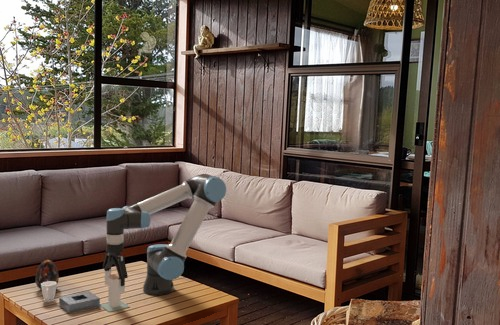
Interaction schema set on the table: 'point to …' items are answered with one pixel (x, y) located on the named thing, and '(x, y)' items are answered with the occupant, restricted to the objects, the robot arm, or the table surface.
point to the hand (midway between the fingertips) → (114, 288)
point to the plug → (114, 291)
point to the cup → (48, 290)
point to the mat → (114, 307)
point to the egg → (46, 273)
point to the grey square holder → (79, 302)
